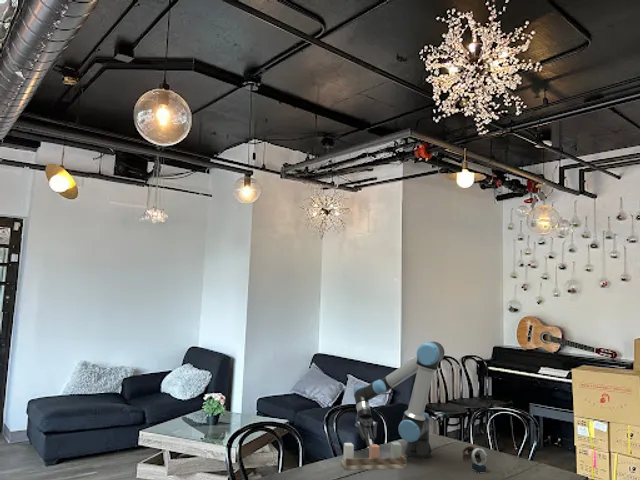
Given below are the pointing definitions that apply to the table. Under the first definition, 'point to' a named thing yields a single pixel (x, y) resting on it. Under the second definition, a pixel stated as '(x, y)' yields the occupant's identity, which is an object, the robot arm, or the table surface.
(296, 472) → the table surface
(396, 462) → the birch key console
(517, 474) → the table surface
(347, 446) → the off-white key
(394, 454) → the pale green upright block
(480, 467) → the small desk fan
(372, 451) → the terracotta key
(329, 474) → the table surface
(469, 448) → the pottery mug
